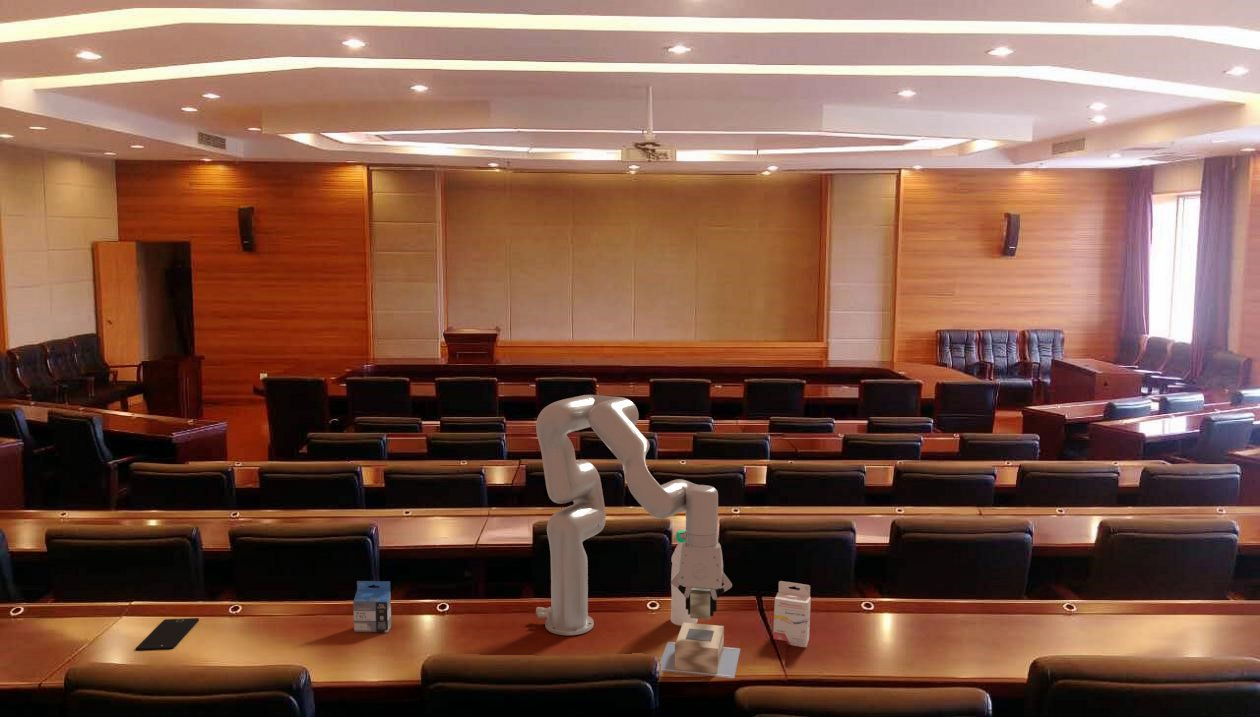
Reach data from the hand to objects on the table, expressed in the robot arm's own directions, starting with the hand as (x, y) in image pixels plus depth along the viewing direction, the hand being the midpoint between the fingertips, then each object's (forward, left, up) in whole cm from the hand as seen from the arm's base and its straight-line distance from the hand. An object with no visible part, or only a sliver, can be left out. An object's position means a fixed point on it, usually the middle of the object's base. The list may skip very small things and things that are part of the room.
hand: (701, 612), depth 220 cm
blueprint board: (0, 0, -13) cm, 13 cm away
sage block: (0, 0, -1) cm, 1 cm away
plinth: (0, 0, -12) cm, 12 cm away
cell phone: (-134, -13, -13) cm, 135 cm away
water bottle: (-7, +22, -13) cm, 27 cm away
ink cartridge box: (+21, +17, -13) cm, 30 cm away
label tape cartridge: (-85, +1, -13) cm, 86 cm away
